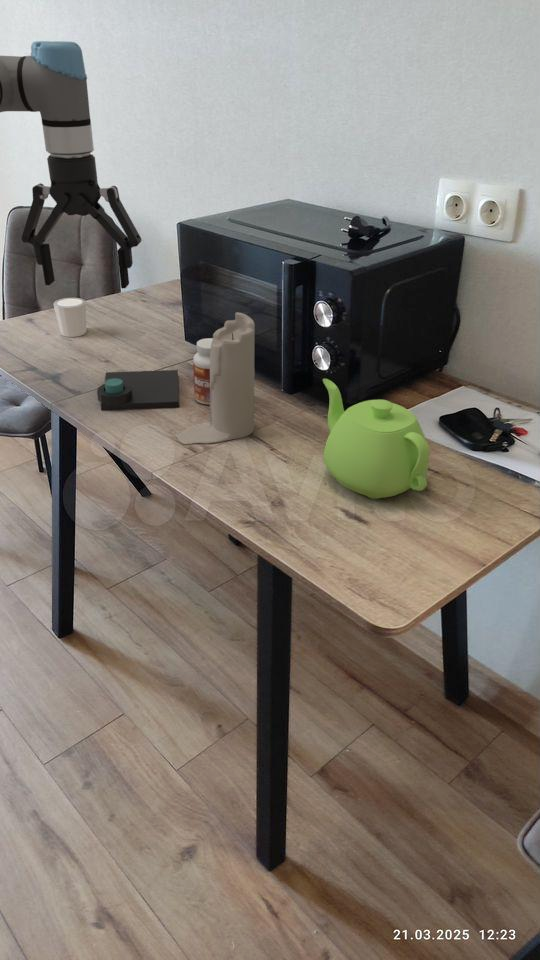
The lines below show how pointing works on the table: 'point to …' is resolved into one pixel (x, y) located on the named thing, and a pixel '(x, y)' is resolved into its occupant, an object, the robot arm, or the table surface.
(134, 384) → the scale
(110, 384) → the button
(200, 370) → the pill bottle
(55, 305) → the white cup
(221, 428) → the candle
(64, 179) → the robot arm
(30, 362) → the table surface
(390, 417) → the teapot
